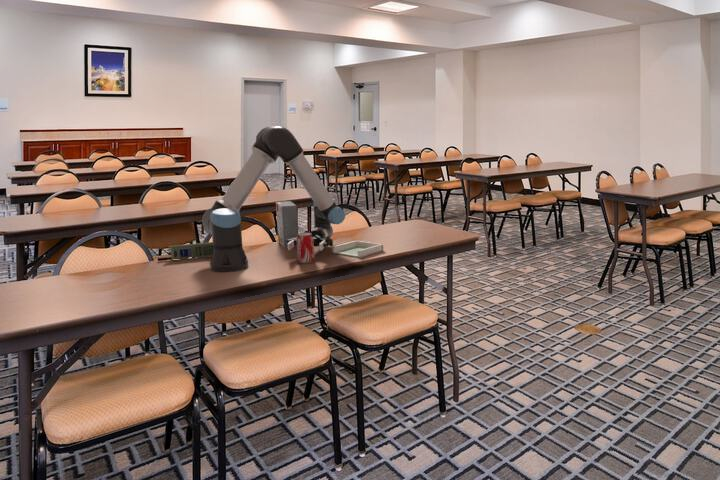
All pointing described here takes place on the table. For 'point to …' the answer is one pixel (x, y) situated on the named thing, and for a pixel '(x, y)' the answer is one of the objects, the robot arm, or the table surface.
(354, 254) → the box
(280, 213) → the hard drive box
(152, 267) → the table surface
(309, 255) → the soda can
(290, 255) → the table surface
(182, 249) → the handheld radio
